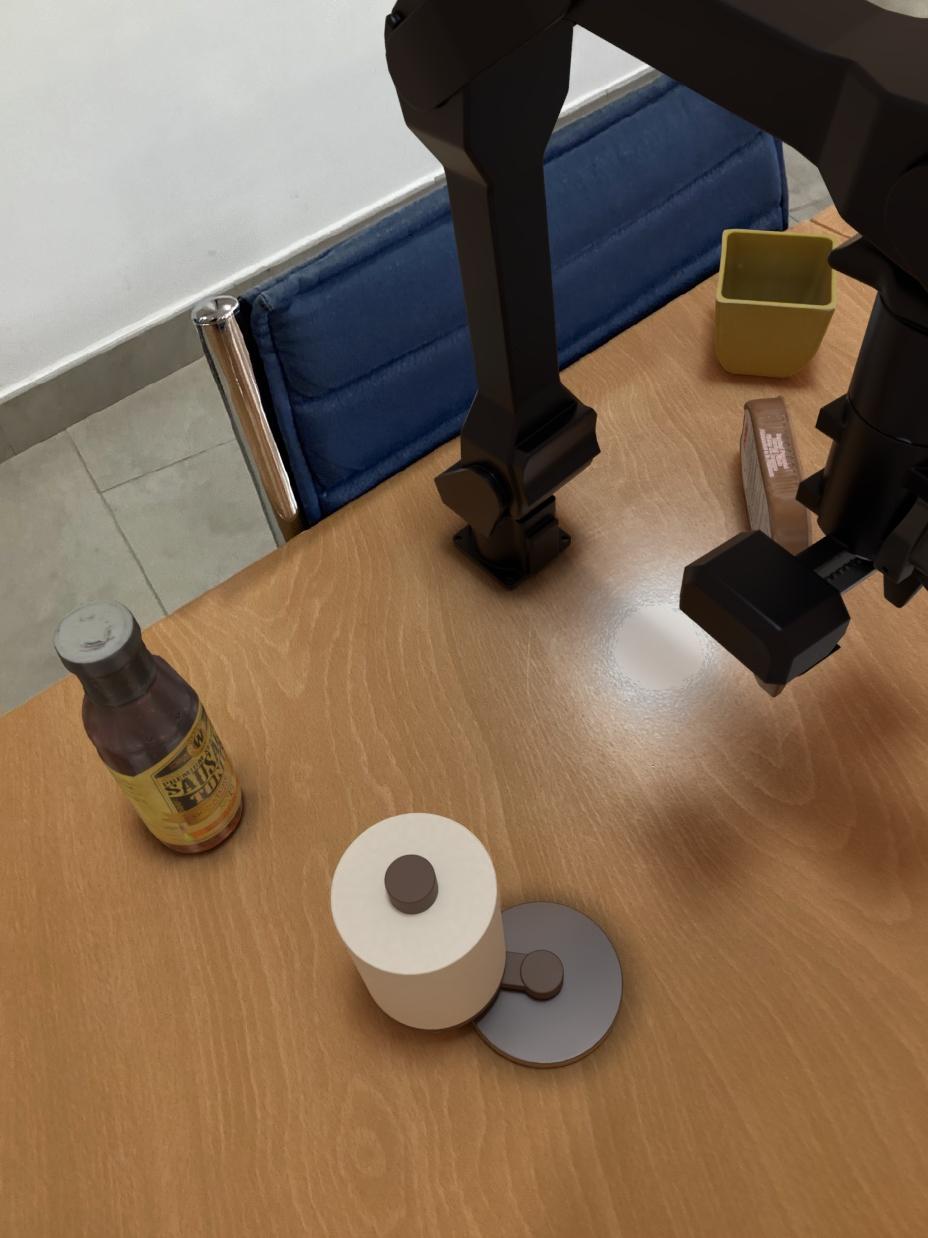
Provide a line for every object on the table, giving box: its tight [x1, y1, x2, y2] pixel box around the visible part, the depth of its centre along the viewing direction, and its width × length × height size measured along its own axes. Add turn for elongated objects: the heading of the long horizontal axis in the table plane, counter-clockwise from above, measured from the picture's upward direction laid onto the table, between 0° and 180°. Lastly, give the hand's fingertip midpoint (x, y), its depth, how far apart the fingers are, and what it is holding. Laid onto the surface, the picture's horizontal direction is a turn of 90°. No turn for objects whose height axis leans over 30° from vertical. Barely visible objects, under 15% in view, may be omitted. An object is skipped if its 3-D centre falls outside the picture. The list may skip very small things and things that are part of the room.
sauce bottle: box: [52, 598, 244, 854], centre depth 60 cm, size 7×6×20 cm
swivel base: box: [471, 900, 624, 1069], centre depth 60 cm, size 9×9×1 cm
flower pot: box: [713, 228, 839, 379], centre depth 84 cm, size 9×9×9 cm
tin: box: [739, 395, 814, 556], centre depth 74 cm, size 15×3×8 cm, turn 179°
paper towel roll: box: [329, 812, 564, 1033], centre depth 54 cm, size 10×9×13 cm
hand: (833, 645), depth 54 cm, fingers open, 9 cm apart
